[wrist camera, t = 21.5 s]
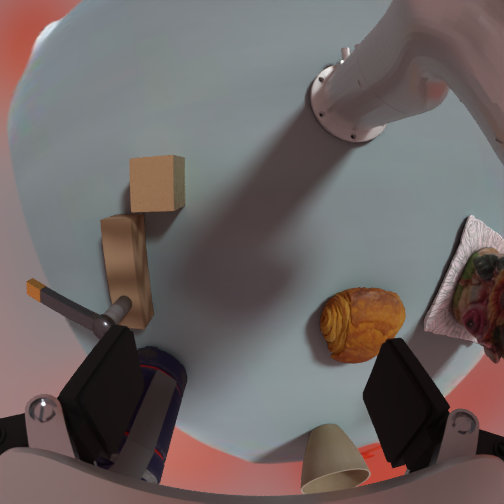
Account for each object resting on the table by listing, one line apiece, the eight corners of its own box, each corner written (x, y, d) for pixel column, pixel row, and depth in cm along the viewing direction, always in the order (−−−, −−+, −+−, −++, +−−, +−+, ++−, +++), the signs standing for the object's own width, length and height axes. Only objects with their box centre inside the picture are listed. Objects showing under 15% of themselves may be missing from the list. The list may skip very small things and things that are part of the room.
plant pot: (299, 416, 51) (308, 475, 35) (361, 410, 51) (381, 462, 36) (289, 449, 55) (295, 499, 40) (344, 444, 55) (357, 490, 40)
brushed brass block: (146, 160, 36) (129, 158, 31) (184, 157, 37) (173, 155, 31) (147, 206, 38) (131, 212, 33) (185, 205, 38) (174, 211, 33)
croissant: (330, 269, 44) (337, 286, 36) (408, 289, 42) (427, 307, 35) (305, 343, 47) (306, 369, 39) (379, 356, 46) (390, 381, 38)
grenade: (170, 397, 49) (133, 519, 20) (122, 365, 47) (59, 481, 18) (206, 363, 46) (175, 514, 17) (151, 325, 44) (74, 467, 15)
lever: (32, 292, 30) (26, 296, 28) (32, 275, 29) (25, 279, 28) (115, 337, 32) (110, 343, 30) (117, 319, 31) (111, 326, 29)
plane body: (116, 214, 39) (76, 229, 28) (144, 213, 39) (108, 228, 28) (128, 312, 43) (100, 347, 33) (154, 314, 43) (130, 352, 33)
